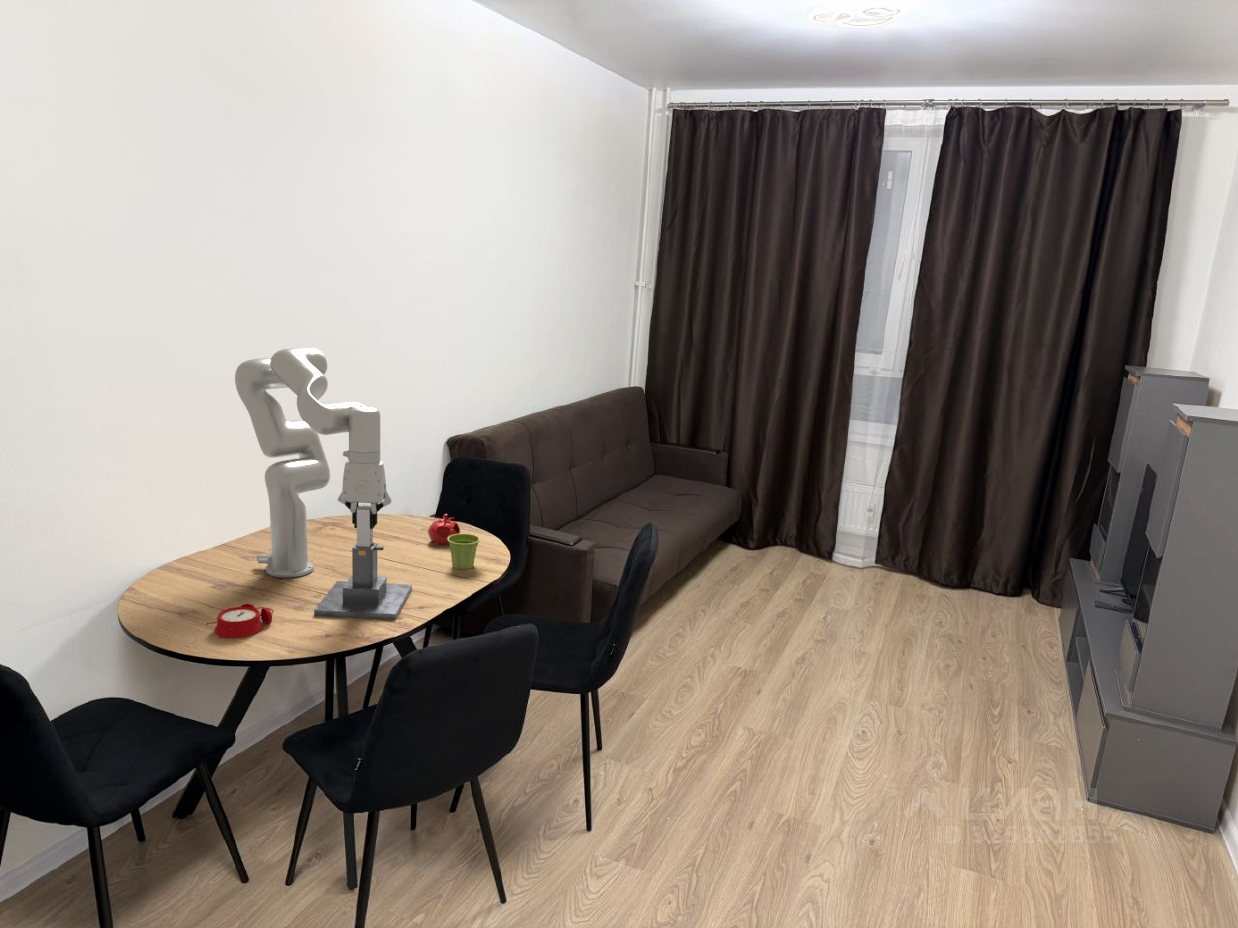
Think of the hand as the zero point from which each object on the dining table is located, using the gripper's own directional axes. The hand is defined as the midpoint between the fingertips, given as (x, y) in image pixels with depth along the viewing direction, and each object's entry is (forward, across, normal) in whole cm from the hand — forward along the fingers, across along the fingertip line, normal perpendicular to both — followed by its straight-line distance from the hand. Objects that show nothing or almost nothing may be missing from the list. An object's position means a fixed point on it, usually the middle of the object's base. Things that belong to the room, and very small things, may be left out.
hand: (364, 526), depth 218 cm
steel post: (+11, 0, 0) cm, 11 cm away
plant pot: (+21, +21, +30) cm, 42 cm away
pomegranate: (+21, +12, +51) cm, 56 cm away
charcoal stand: (+21, 0, 0) cm, 21 cm away
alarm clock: (+21, -24, -18) cm, 37 cm away
